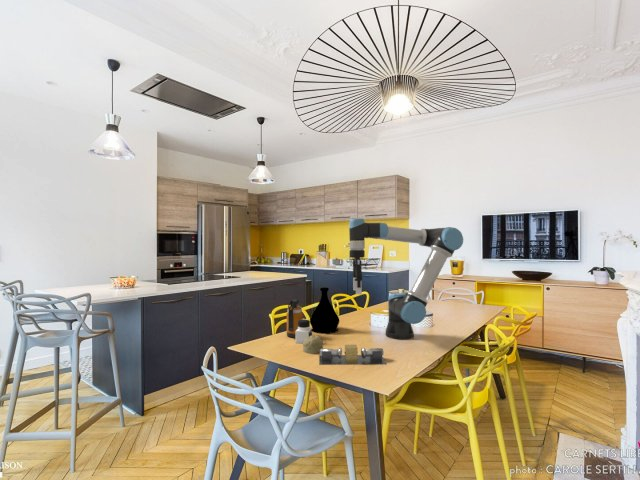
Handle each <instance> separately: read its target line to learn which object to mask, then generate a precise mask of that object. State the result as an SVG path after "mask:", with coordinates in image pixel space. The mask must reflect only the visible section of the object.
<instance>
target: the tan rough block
mask: <svg viewBox="0 0 640 480" xmlns="http://www.w3.org/2000/svg"><path fill="white" fill-rule="evenodd" d="M344 355H345V361H346V362H358V355H359V354H358V346H357V344H344Z"/></svg>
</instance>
